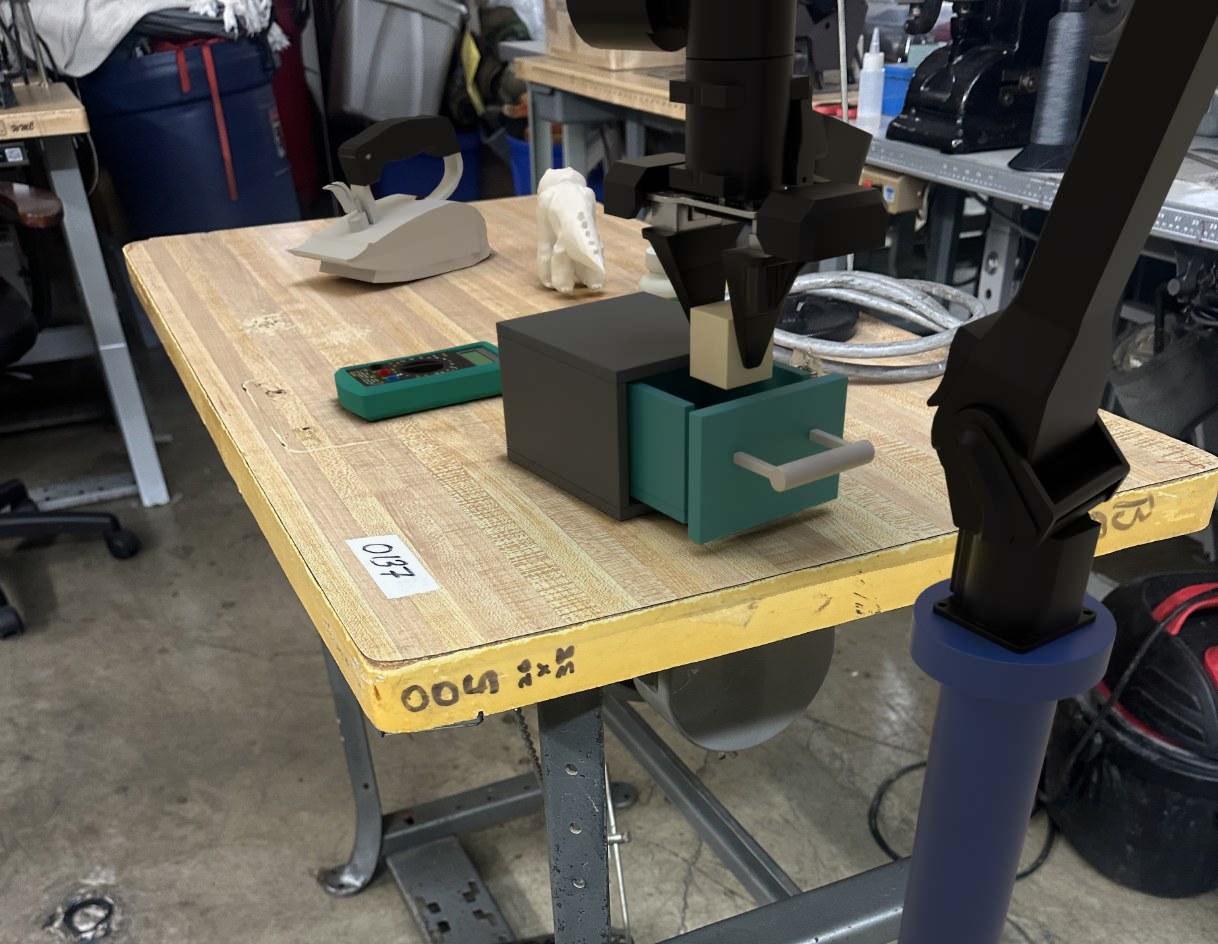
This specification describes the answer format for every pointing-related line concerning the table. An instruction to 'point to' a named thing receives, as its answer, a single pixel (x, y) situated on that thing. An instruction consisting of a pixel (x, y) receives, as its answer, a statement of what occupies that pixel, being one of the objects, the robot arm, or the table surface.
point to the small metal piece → (806, 362)
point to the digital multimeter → (420, 381)
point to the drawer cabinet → (585, 389)
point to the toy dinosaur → (568, 232)
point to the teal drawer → (738, 447)
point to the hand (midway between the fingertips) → (731, 360)
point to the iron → (398, 210)
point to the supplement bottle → (656, 278)
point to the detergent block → (721, 349)
